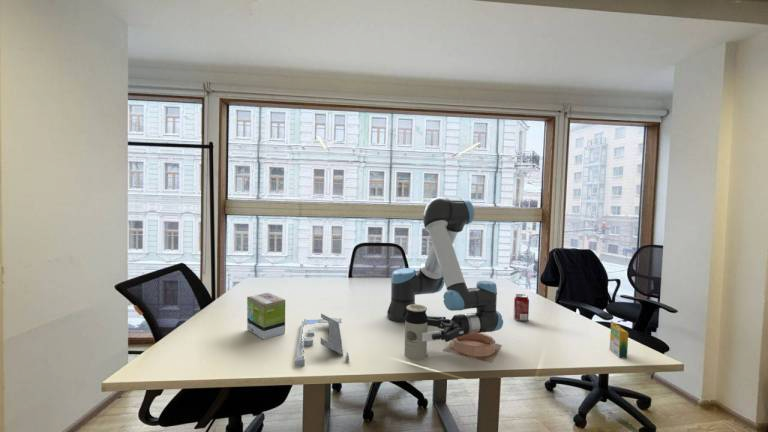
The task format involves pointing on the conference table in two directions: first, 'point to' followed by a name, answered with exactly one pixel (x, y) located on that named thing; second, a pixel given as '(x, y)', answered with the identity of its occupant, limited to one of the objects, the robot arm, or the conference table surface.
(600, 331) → the conference table surface
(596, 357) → the conference table surface
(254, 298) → the tea box
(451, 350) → the cork mat
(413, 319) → the travel mug
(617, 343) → the crayon box
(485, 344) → the bowl
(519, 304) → the soda can
